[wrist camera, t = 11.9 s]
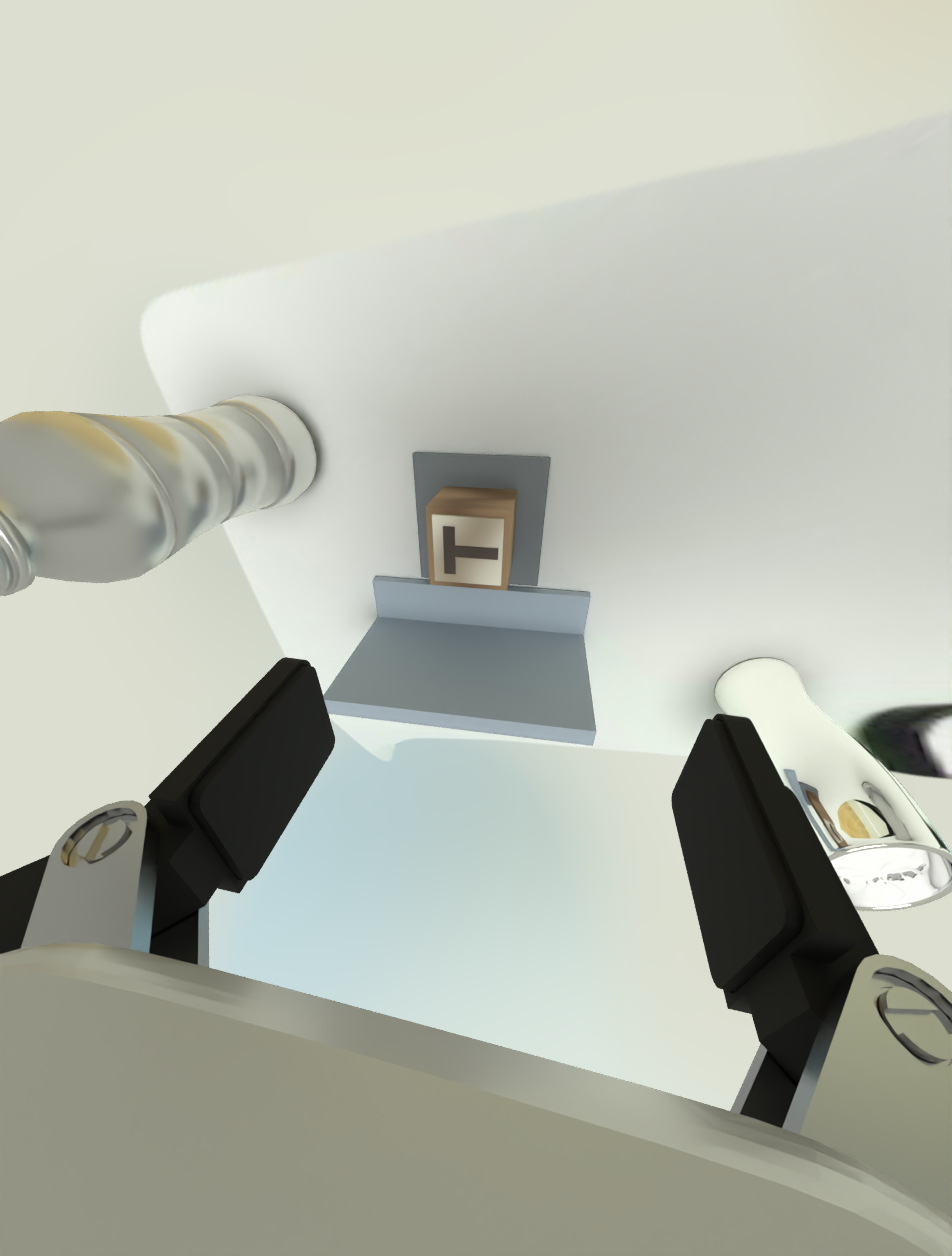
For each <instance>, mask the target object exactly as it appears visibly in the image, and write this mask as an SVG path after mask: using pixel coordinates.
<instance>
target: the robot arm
mask: <svg viewBox="0 0 952 1256" xmlns="http://www.w3.org/2000/svg"><path fill="white" fill-rule="evenodd" d="M334 744H335V736H334V732H333V729H332V726H331V722H330V718H329V715H328V711H327V708H326V704H325V701H324V697H323V694H322V690H321V687H320V683H319V680H318V676H317V673H316V670H315V668H314V667H311V665H310V663H309V662H308V661H307V660H301V659H293V658H286V657H285V658H282V659H281V660H280V661H278V662H277V663H276V664H275V665H274V666H273V668H272V669H271V670H270V671H269V672H268V673H267V674H266V675H265V676H264V677H263V678H262V679H261V680H260V681H259V682H258V683H257V684H256V685H255V686H254V687H253V688H252V689H251V690H250V691H249V692H248V694H246V695H245V697H244V698H243V699H242V700H241V701H240V702H239V703H238V704H237V705H236V706H235V707H234V708H233V709H232V710H231V711H230V712H229V713H228V714H227V715H226V716H225V717H224V718H223V719H222V720H221V722H219V723H218V725H217V726H216V727H215V728H214V729H213V730H212V731H211V732H210V733H209V734H208V735H207V736H206V737H205V738H204V739H203V740H202V741H201V742H200V743H199V744H198V745H197V746H196V747H195V748H194V749H193V751H191V752H190V754H189V755H188V756H187V757H186V758H185V759H184V760H183V761H182V762H181V763H180V764H179V765H178V766H177V767H176V768H175V769H174V770H173V771H172V772H171V773H170V775H168V776H167V777H166V778H165V779H164V780H163V782H161V784H160V785H159V786H158V787H157V788H156V789H155V790H154V791H153V792H152V793H151V794H150V795H149V798H150V799H151V800H150V801H149V802H148V803H147V804H146V805H145V806H143V805H142V804H141V803H138V802H135V801H119V802H115V803H112V804H108V805H105V806H103V807H101V808H99V809H97V810H94V811H93V812H91V813H89V814H88V815H86V816H85V817H83V818H81V819H80V820H79V821H77V822H76V823H75V824H74V825H73V826H71V827H70V828H69V829H68V830H67V831H66V832H65V833H64V834H63V836H62V837H61V838H60V839H59V840H58V842H57V843H56V844H55V846H54V848H53V850H52V852H51V854H50V855H49V856H46V857H44V858H42V859H39V860H37V861H35V862H32V863H30V864H28V865H26V866H23V867H21V868H19V869H17V870H14V871H12V872H10V873H7V874H5V875H3V876H0V1256H952V992H951V991H949V990H948V989H947V988H946V987H945V986H944V985H942V984H941V983H940V982H939V981H938V980H936V979H935V978H934V977H933V976H931V975H929V974H928V973H926V972H924V971H923V970H921V969H920V968H918V967H917V966H915V965H913V964H912V963H909V962H907V961H904V960H901V959H899V958H896V957H894V956H888V955H880V954H879V953H878V951H877V949H876V947H875V946H874V943H873V941H872V939H871V937H870V936H869V934H868V932H867V930H866V928H865V926H864V924H863V922H862V920H861V918H860V916H859V915H858V913H857V911H856V909H855V907H854V905H853V903H852V901H851V899H850V897H849V895H848V894H847V892H846V890H845V888H844V886H843V884H842V882H841V880H840V878H839V876H838V875H837V873H836V871H835V869H834V867H833V865H832V863H831V861H830V859H829V857H828V855H827V854H826V852H825V850H824V848H823V846H822V844H821V842H820V840H819V838H818V836H817V835H816V833H815V831H814V829H813V827H812V825H811V823H810V821H809V819H808V817H807V815H806V814H805V812H804V810H803V808H802V806H801V804H800V802H799V800H798V799H797V797H796V796H795V794H794V793H793V791H792V790H790V789H789V788H788V787H787V786H785V785H784V783H783V781H782V779H781V777H780V775H779V773H778V771H777V770H776V768H775V766H774V764H773V762H772V760H771V758H770V756H769V754H768V752H767V750H766V748H765V746H764V744H763V742H762V740H761V738H760V736H759V734H758V732H757V730H756V728H755V726H754V724H753V723H752V721H751V720H750V719H749V718H747V717H740V716H733V715H725V714H717V715H715V717H714V718H713V720H712V719H707V720H706V721H705V722H704V724H703V726H702V729H701V731H700V733H699V735H698V737H697V740H696V742H695V744H694V746H693V748H692V750H691V753H690V755H689V757H688V759H687V761H686V764H685V766H684V768H683V770H682V773H681V775H680V777H679V779H678V781H677V783H676V786H675V788H674V790H673V793H672V809H673V813H674V817H675V822H676V826H677V831H678V835H679V839H680V843H681V848H682V852H683V856H684V861H685V865H686V869H687V873H688V878H689V882H690V886H691V890H692V895H693V899H694V903H695V908H696V912H697V916H698V921H699V925H700V929H701V933H702V938H703V942H704V946H705V951H706V955H707V959H708V963H709V968H710V972H711V975H712V978H713V981H714V983H715V985H716V986H717V987H718V988H720V989H723V990H724V994H725V998H726V1003H727V1007H728V1009H733V1010H737V1011H742V1012H745V1013H750V1014H752V1017H753V1021H754V1024H755V1028H756V1031H757V1035H758V1038H759V1041H760V1043H761V1045H760V1046H759V1049H758V1051H757V1053H756V1056H755V1057H754V1060H753V1062H752V1064H751V1066H750V1069H749V1071H748V1073H747V1075H746V1078H745V1080H744V1082H743V1084H742V1086H741V1089H740V1091H739V1093H738V1095H737V1097H736V1100H735V1102H734V1104H733V1106H732V1109H731V1111H727V1110H724V1109H720V1108H717V1107H714V1106H710V1105H707V1104H704V1103H700V1102H697V1101H693V1100H690V1099H687V1098H683V1097H680V1096H676V1095H673V1094H670V1093H666V1092H663V1091H660V1090H656V1089H653V1088H650V1087H646V1086H643V1085H639V1084H636V1083H632V1082H628V1081H625V1080H621V1079H617V1078H614V1077H610V1076H607V1075H603V1074H599V1073H596V1072H592V1071H588V1070H585V1069H581V1068H577V1067H574V1066H570V1065H567V1064H563V1063H559V1062H556V1061H552V1060H549V1059H545V1058H541V1057H538V1056H534V1055H531V1054H527V1053H523V1052H520V1051H516V1050H512V1049H509V1048H505V1047H502V1046H498V1045H494V1044H491V1043H487V1042H483V1041H480V1040H476V1039H472V1038H469V1037H465V1036H461V1035H457V1034H453V1033H450V1032H446V1031H443V1030H439V1029H436V1028H432V1027H428V1026H424V1025H421V1024H417V1023H413V1022H410V1021H406V1020H402V1019H399V1018H395V1017H391V1016H388V1015H383V1014H380V1013H376V1012H373V1011H369V1010H365V1009H362V1008H358V1007H354V1006H351V1005H347V1004H343V1003H340V1002H336V1001H332V1000H328V999H324V998H321V997H317V996H313V995H310V994H306V993H302V992H298V991H294V990H291V989H287V988H283V987H279V986H275V985H272V984H268V983H264V982H261V981H257V980H253V979H249V978H246V977H242V976H238V975H234V974H230V973H227V972H223V971H219V970H216V969H212V968H209V899H210V898H211V896H212V895H213V893H214V892H215V890H216V889H217V888H218V889H223V890H227V891H231V892H235V893H240V892H241V890H242V889H243V887H244V885H245V884H246V882H247V881H248V880H252V879H253V878H254V877H255V876H256V875H257V874H258V872H259V871H260V869H261V868H262V866H263V864H264V863H265V861H266V859H267V858H268V856H269V854H270V853H271V851H272V850H273V848H274V846H275V844H276V843H277V841H278V840H279V838H280V836H281V835H282V833H283V831H284V830H285V828H286V826H287V825H288V823H289V821H290V820H291V818H292V816H293V815H294V813H295V812H296V810H297V808H298V807H299V805H300V803H301V802H302V800H303V798H304V797H305V795H306V793H307V791H308V790H309V788H310V787H311V785H312V783H313V782H314V780H315V778H316V777H317V775H318V774H319V772H320V770H321V768H322V767H323V765H324V764H325V762H326V760H327V759H328V757H329V755H330V754H331V752H332V750H333V748H334Z"/></svg>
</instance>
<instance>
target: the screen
mask: <svg viewBox="0 0 952 1256" xmlns="http://www.w3.org/2000/svg"><path fill="white" fill-rule="evenodd" d="M373 587H374V593H375V600H376V607H377V614H378V617H377V619H376V620H375V622H374V623H373V625H372V626H371V627H370V629H369V630H368V632H367V633H366V635H365V636H364V638H363V639H362V641H361V642H360V643H359V645H358V646H357V648H356V649H355V651H354V652H353V654H352V655H351V656H350V658H349V659H348V661H347V662H346V664H345V665H344V667H343V668H342V670H341V671H340V672H339V674H338V675H337V677H336V678H335V680H334V681H333V683H332V684H331V685H330V687H329V688H328V690H327V691H326V693H325V694H324V696H323V697H324V701H325V704H326V708H327V711H328V714H336V715H344V716H352V717H361V718H369V719H377V720H385V721H394V722H402V723H410V724H418V725H427V726H435V727H443V728H451V729H460V730H468V731H476V732H484V733H493V734H501V735H509V736H517V737H525V738H534V739H542V740H550V741H558V742H567V743H575V744H583V745H591V746H593V743H594V739H595V735H596V726H595V718H594V711H593V703H592V696H591V688H590V681H589V673H588V666H587V658H586V651H585V643H584V636H583V635H584V629H585V624H586V618H587V613H588V608H589V602H590V592H579V591H566V590H553V589H540V588H527V587H514V586H508V589H507V591H505V590H492V589H480V588H467V587H455V586H442V585H430V580H422V579H408V578H395V577H382V576H376V577H375V578H374V579H373Z"/></svg>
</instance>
